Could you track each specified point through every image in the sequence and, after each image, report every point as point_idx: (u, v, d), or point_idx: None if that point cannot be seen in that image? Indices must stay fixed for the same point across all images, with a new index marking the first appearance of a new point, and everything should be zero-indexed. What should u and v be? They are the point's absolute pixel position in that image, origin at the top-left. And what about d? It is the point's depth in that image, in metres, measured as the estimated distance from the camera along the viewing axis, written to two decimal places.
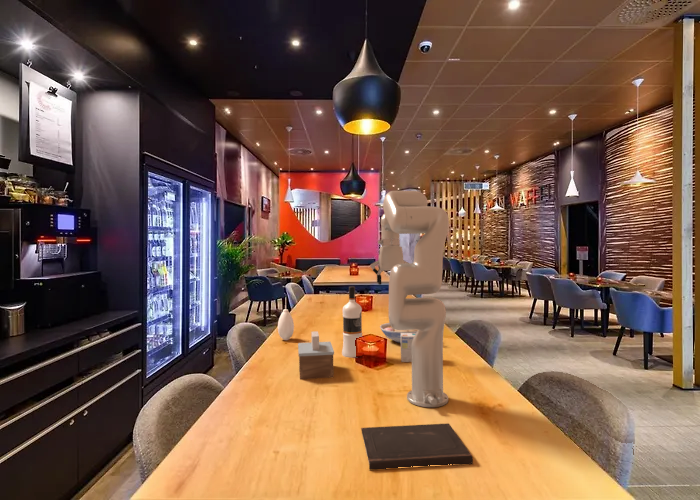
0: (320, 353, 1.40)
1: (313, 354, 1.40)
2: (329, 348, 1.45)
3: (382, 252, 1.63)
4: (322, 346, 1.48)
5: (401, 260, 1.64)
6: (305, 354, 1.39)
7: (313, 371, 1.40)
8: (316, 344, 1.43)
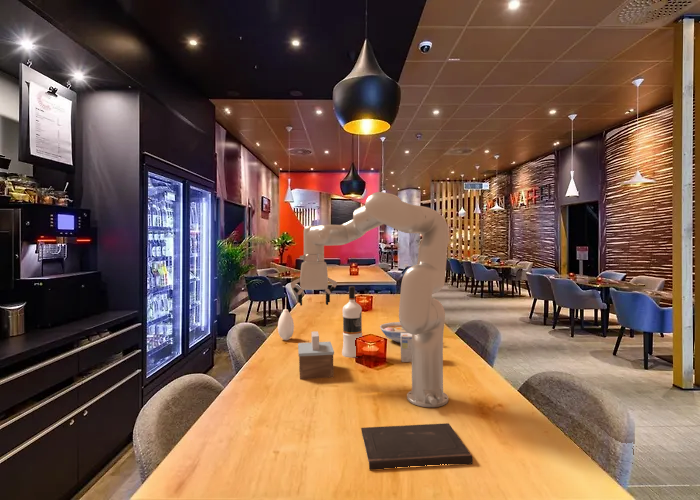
0: (320, 353, 1.40)
1: (313, 354, 1.40)
2: (329, 348, 1.45)
3: (303, 269, 1.44)
4: (322, 346, 1.48)
5: (325, 278, 1.45)
6: (305, 354, 1.39)
7: (313, 371, 1.40)
8: (316, 344, 1.43)
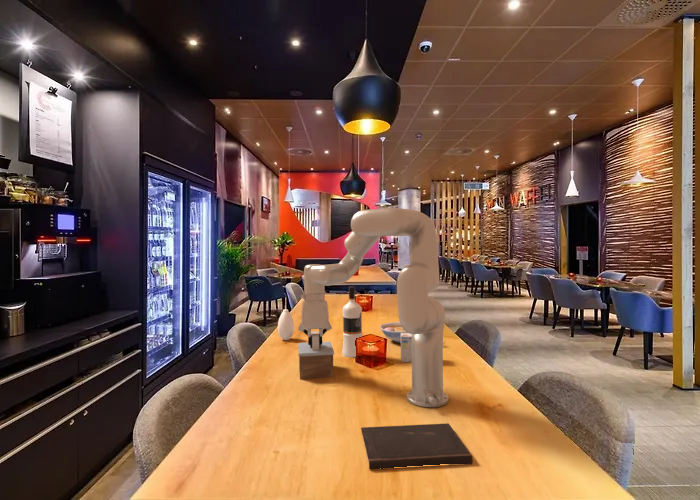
0: (320, 353, 1.40)
1: (313, 354, 1.40)
2: (329, 348, 1.45)
3: (304, 308, 1.44)
4: (322, 346, 1.48)
5: (326, 317, 1.45)
6: (305, 354, 1.39)
7: (313, 371, 1.40)
8: (316, 344, 1.43)
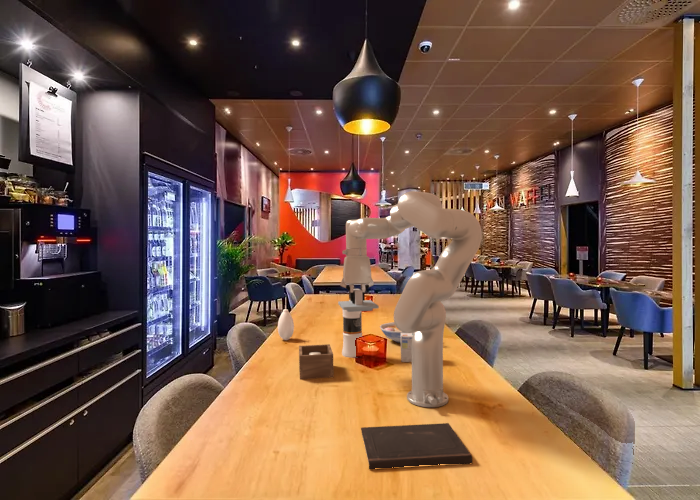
0: (365, 307, 1.39)
1: (358, 308, 1.39)
2: (372, 303, 1.44)
3: (346, 263, 1.43)
4: (364, 302, 1.47)
5: (368, 272, 1.44)
6: (350, 308, 1.38)
7: (313, 371, 1.40)
8: (359, 298, 1.42)
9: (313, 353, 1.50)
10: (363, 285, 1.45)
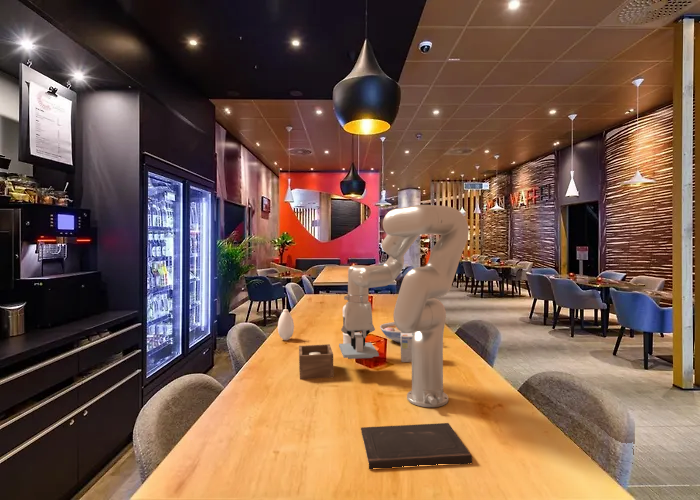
0: (365, 355, 1.40)
1: (358, 356, 1.40)
2: (372, 349, 1.45)
3: (348, 310, 1.43)
4: (364, 347, 1.48)
5: (369, 319, 1.44)
6: (350, 356, 1.39)
7: (313, 371, 1.40)
8: (360, 345, 1.43)
9: (313, 353, 1.50)
10: (364, 331, 1.46)
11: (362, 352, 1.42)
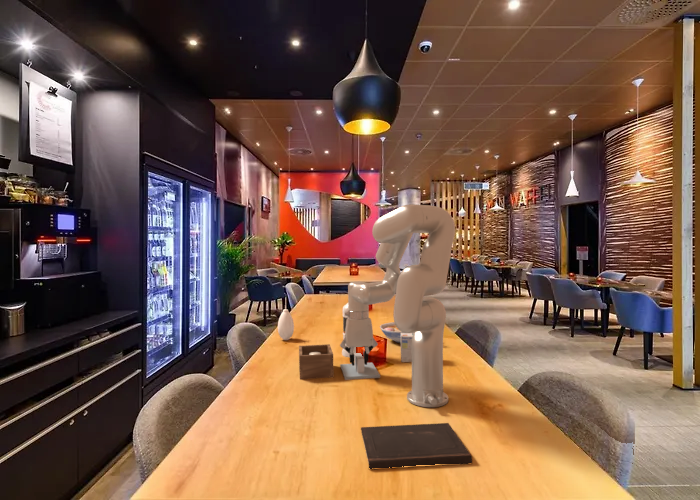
0: (366, 376, 1.40)
1: (359, 377, 1.39)
2: (374, 370, 1.45)
3: (348, 326, 1.43)
4: (366, 368, 1.48)
5: (370, 335, 1.44)
6: (351, 377, 1.39)
7: (313, 371, 1.40)
8: (361, 366, 1.43)
9: (313, 353, 1.50)
10: (366, 347, 1.46)
11: (363, 373, 1.42)
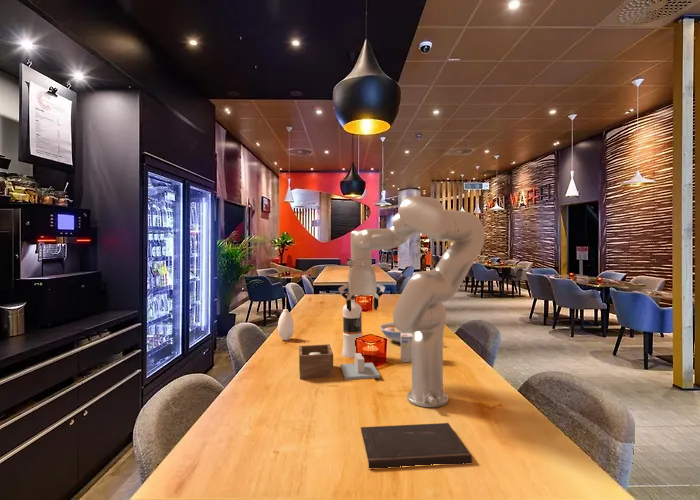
0: (366, 376, 1.40)
1: (359, 377, 1.39)
2: (374, 371, 1.45)
3: (351, 274, 1.42)
4: (366, 368, 1.48)
5: (373, 283, 1.43)
6: (351, 377, 1.39)
7: (313, 371, 1.40)
8: (361, 366, 1.43)
9: (313, 353, 1.50)
10: None
11: (363, 374, 1.42)
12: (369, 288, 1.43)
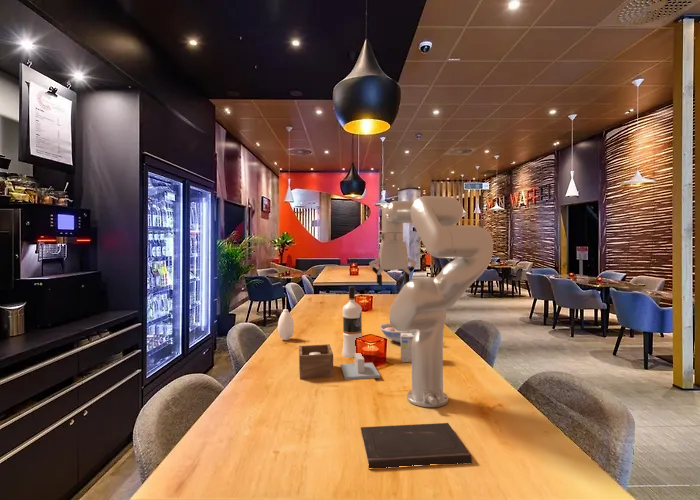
0: (366, 376, 1.40)
1: (359, 377, 1.39)
2: (374, 371, 1.45)
3: (383, 248, 1.40)
4: (366, 368, 1.48)
5: (405, 257, 1.40)
6: (351, 378, 1.39)
7: (313, 371, 1.40)
8: (361, 367, 1.43)
9: (313, 353, 1.50)
10: None
11: (363, 374, 1.42)
12: (401, 263, 1.40)
